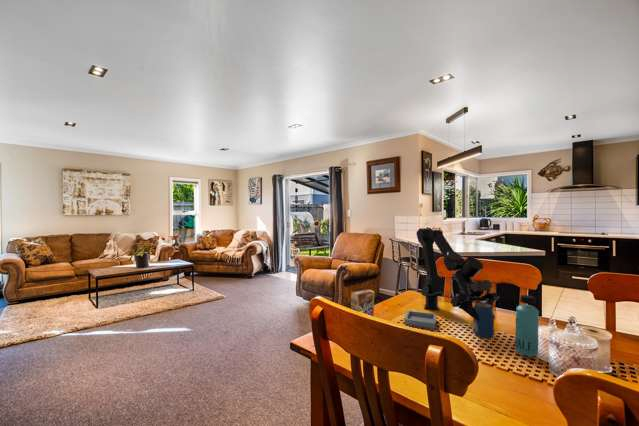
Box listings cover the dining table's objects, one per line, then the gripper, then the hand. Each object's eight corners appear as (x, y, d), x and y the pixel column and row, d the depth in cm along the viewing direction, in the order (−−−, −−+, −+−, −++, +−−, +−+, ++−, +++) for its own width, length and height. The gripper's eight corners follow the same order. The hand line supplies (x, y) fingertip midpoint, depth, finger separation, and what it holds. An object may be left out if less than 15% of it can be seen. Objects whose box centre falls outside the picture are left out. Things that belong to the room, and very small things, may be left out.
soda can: (496, 336, 115) (497, 305, 115) (488, 341, 111) (489, 308, 111) (478, 330, 120) (478, 300, 120) (469, 334, 116) (470, 303, 116)
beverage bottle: (534, 353, 101) (535, 294, 101) (541, 363, 95) (543, 299, 95) (512, 350, 104) (513, 292, 103) (517, 359, 97) (519, 297, 97)
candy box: (356, 334, 115) (357, 294, 115) (349, 330, 119) (350, 291, 119) (374, 329, 120) (374, 291, 120) (366, 325, 124) (367, 288, 124)
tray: (407, 315, 136) (407, 310, 136) (435, 319, 132) (435, 313, 132) (404, 325, 125) (404, 319, 125) (435, 329, 121) (435, 323, 121)
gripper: (456, 273, 117) (476, 311, 106) (496, 271, 121) (520, 308, 111) (442, 288, 125) (460, 325, 114) (481, 286, 129) (501, 321, 118)
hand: (486, 319), depth 114 cm, fingers closed on soda can, 7 cm apart
